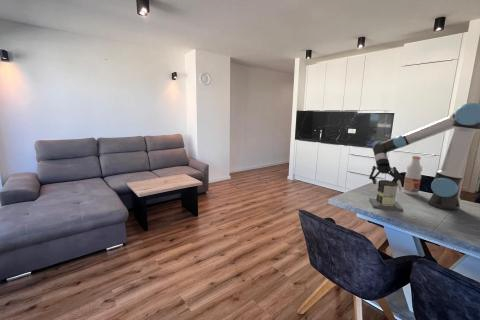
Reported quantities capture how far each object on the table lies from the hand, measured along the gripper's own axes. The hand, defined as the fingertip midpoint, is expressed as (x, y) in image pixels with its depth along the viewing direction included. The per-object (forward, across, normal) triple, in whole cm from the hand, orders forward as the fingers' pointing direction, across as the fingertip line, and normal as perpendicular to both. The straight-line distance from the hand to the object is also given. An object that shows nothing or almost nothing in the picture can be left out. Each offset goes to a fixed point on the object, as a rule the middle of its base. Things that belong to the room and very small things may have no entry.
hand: (388, 189), depth 146 cm
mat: (+7, 0, -10) cm, 12 cm away
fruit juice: (-15, -30, -32) cm, 46 cm away
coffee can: (+6, 0, -8) cm, 10 cm away
